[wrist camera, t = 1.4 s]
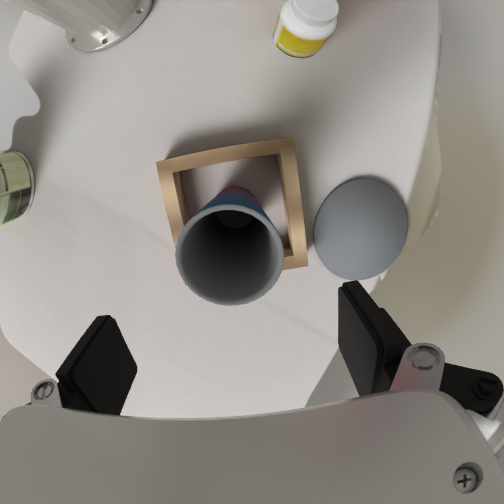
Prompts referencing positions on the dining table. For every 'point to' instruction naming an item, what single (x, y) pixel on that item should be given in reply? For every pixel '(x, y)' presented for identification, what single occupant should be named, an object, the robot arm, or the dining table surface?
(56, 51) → the dining table surface
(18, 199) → the coffee can
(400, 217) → the disc
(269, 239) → the cup
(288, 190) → the socket
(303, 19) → the supplement bottle
